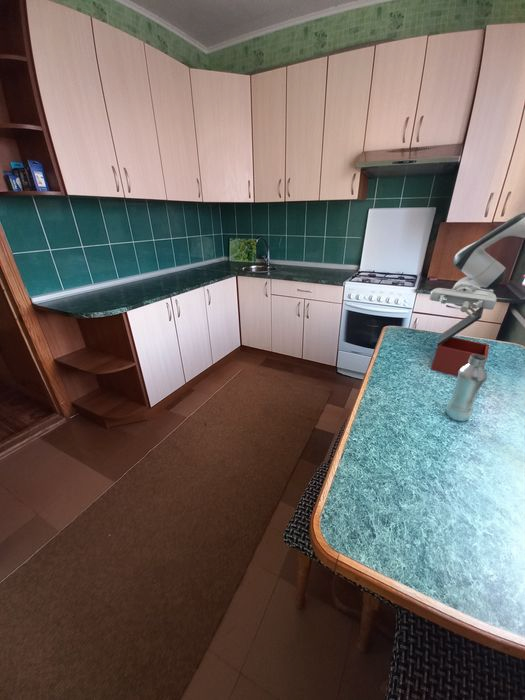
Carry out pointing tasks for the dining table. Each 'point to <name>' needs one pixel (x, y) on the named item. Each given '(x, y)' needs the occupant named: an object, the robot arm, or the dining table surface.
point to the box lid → (462, 322)
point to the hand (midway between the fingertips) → (458, 303)
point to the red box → (456, 354)
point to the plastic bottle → (467, 388)
